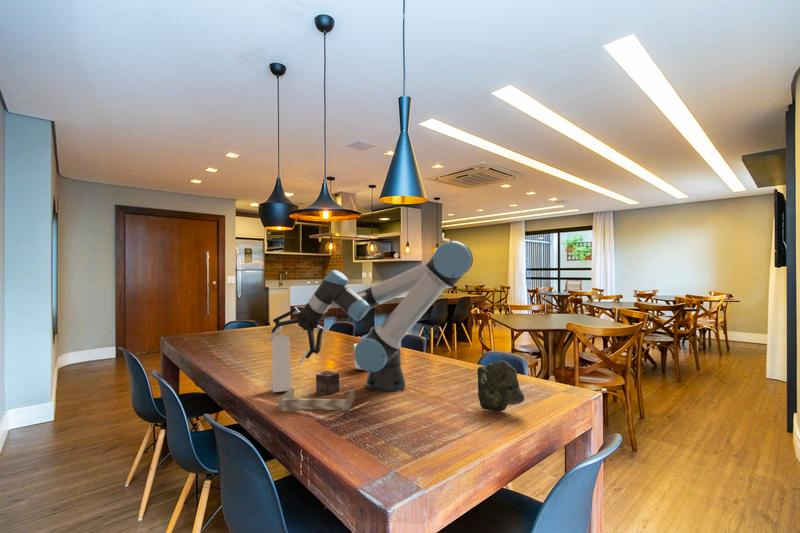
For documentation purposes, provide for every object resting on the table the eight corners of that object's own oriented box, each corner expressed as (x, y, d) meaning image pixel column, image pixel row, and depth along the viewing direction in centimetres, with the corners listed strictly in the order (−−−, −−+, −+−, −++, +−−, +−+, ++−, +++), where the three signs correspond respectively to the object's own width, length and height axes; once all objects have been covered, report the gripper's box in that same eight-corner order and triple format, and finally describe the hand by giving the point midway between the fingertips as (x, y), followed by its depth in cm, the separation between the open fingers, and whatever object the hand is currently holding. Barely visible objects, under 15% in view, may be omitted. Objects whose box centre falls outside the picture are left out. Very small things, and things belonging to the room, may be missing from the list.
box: (339, 392, 140) (339, 372, 140) (328, 397, 135) (328, 376, 135) (327, 389, 143) (327, 370, 143) (315, 394, 138) (315, 374, 138)
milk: (273, 392, 134) (271, 330, 142) (272, 393, 140) (271, 333, 147) (291, 390, 136) (289, 328, 144) (290, 391, 142) (288, 332, 149)
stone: (474, 411, 121) (473, 364, 121) (481, 401, 130) (481, 356, 130) (522, 419, 115) (522, 368, 115) (526, 407, 124) (526, 360, 124)
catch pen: (355, 400, 131) (355, 388, 131) (348, 413, 120) (348, 400, 120) (290, 399, 133) (290, 388, 133) (278, 412, 121) (278, 399, 121)
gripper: (346, 325, 143) (315, 368, 147) (293, 285, 144) (262, 328, 147) (341, 331, 136) (308, 376, 139) (285, 288, 136) (253, 334, 140)
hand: (285, 352), depth 143 cm, fingers open, 13 cm apart
